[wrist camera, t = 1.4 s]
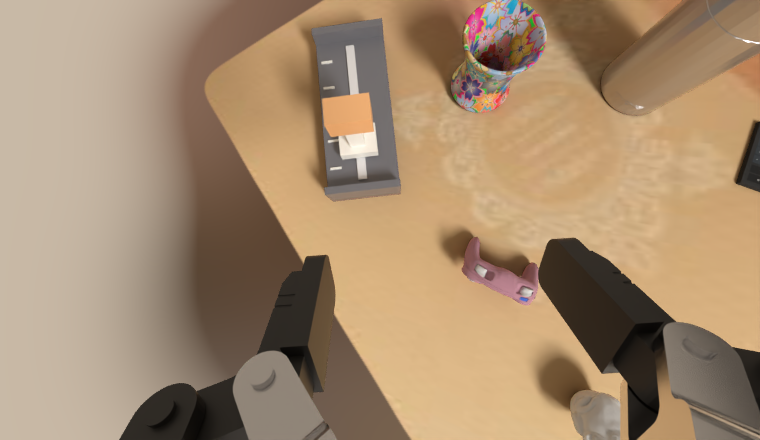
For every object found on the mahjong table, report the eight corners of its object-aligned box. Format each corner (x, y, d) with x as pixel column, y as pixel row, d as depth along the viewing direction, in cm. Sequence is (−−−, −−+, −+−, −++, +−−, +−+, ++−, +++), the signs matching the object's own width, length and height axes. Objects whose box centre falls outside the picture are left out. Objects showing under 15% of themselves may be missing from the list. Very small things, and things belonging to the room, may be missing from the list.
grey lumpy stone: (559, 432, 37) (597, 475, 30) (555, 376, 37) (591, 405, 30) (608, 434, 36) (658, 478, 29) (603, 377, 37) (650, 406, 30)
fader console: (400, 193, 41) (400, 186, 36) (333, 201, 42) (324, 194, 37) (383, 44, 44) (381, 18, 39) (321, 53, 44) (311, 28, 39)
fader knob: (378, 155, 38) (372, 124, 29) (342, 159, 39) (324, 130, 29) (375, 127, 39) (368, 87, 29) (340, 132, 39) (321, 94, 30)
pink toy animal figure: (456, 258, 41) (457, 283, 35) (471, 232, 40) (474, 253, 33) (520, 287, 40) (533, 318, 34) (538, 262, 38) (555, 290, 32)
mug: (496, 127, 41) (530, 85, 31) (437, 105, 42) (450, 58, 32) (524, 56, 42) (566, -9, 32) (466, 36, 43) (488, -32, 33)
